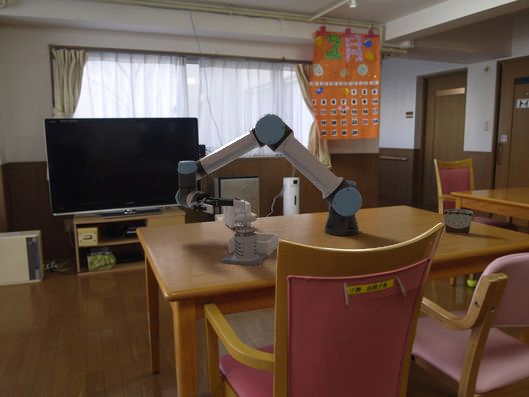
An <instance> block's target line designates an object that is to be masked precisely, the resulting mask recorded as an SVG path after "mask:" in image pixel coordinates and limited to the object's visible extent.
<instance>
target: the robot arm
mask: <svg viewBox="0 0 529 397" xmlns="http://www.w3.org/2000/svg"><path fill="white" fill-rule="evenodd" d="M265 146H266V147H267V148H268V149H270V150H271V151H272V152H273V153H279V154H281V155H282V156H283V157H284V158H285V159H286V161H288V162H289V163H290V164H291V165H292V166H294V168H296V169H297V171H299V172H300V173H301V174H302V175H303V176H304V177H305V178H306V179H307V180H308V181H310V182H311V183H312V184H313V185H314V186H315V187H316V188H317V189H318V190H319V191H320V192H321V193H322V199H324V201H326V202H327V203H328V216H327V218H326V221H325V224H324V227H323V228H324V233H326V234H329V235H333V236H334V235H335V236H354V235H357V234H359V233H360V226H359V224H358V223H359V222H358V220H357V216H356V214H357V213H358V212H359V211H360V209H361V208H362V205H363V199H362V198H363V197H362V195H361V193H360V191H359V190H358V189H356V188H357V183H356V181H355V180H346V178H344V177H341V176H339V177H338V176H336V174H334V173H333V172H332V171H331V170H330V169H329V168H328V167H327V166H326V165H325V164H323V162H322V161H320V160H319V159H318V158H317V157H316V156H315V155H314V154H313V153H312V152H311V151H310V150H308V148H307V147H306V146H304V145H303V144H302V143H301V142H300V141H299V139H297V138H296V136H295V131H294V130H293V129H292V128H291V127H290V126H288V124H287V123H286V122H285V121H284V120H283V119H282V118H281V117H279V116H278V115H277V114H274V113H266V114H264V115H262V116H261V117H259V118H258V120H256V123H255V125H254V126H252V127H251V128H249V131H248V132H246V133H245V134H243V135H241V136H239V137H237V138H236V139H234V140H232V141H231V142H228V143H227V144H225V145H223V146H221V147H220V148H218V149H216V150H214V151H212V152H211V153H209V154H208V155H205V156H204V157H202V158H200V159H198V160H196V161H195V160H182V161H181V160H180V161H179V162H178V163H177V172H178V173H177V174H178V190H177V192H176V194H175V197H174V198H175V201H176V203H177V204H178V205H179V206H181V207H183V208H188V209H192V211H193V212H198V213H199V214H202V213H208V214H214V208H219V207H223V206H234V207H236V208H240V209H245V202H243V201H240V198H237V197H234V198H227V197H226V198H225V197H212V195H211V194H210V193H207V192H204V191H199V190H198V181H199V180H201V179H203V178H204V177H206V176H208V175H210V174H211V173H212V172H215V171H217V170H219V169H221V168H222V167H224V166H226V165H228V164H229V163H231V162H233V161H235V160H237V159H239V158H240V157H242V156H244V155H245V154H249V152H252V151H253V150H255V149H257V148H260V149H262V148H264V147H265Z"/></svg>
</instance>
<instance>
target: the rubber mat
mask: <svg viewBox="0 0 529 397" xmlns="http://www.w3.org/2000/svg"><path fill="white" fill-rule="evenodd" d="M257 254H258V255H259V257H260V258H259V259H257V260H254V261H236V260H233V259H232V257H233V255H234V251H233V252H231V253H228V254H227V255H226V256H225V257H223V258H221V259H220V260H221V261H220V262H221V264H223V263H224V264H233V265H234V264H235V265H245V266H246V265H247V266H256V267H257V266H259V265H260V264H261V263H262V262H263V261H265V259H266V258H267V257H268V256H267V254H261V253H257Z"/></svg>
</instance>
